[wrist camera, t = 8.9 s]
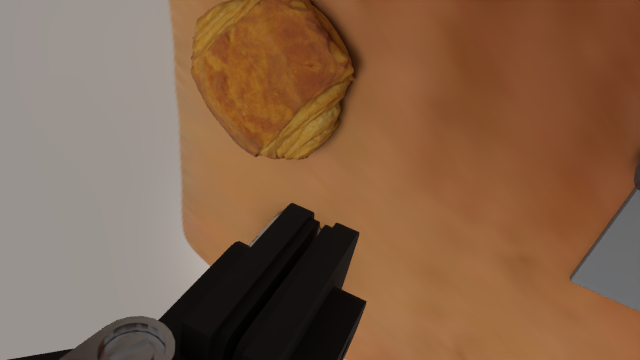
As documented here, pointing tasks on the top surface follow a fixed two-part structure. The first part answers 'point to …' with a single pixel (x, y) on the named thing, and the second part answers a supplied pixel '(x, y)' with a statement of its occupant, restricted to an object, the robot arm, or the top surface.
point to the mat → (615, 257)
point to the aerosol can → (637, 176)
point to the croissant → (271, 74)
